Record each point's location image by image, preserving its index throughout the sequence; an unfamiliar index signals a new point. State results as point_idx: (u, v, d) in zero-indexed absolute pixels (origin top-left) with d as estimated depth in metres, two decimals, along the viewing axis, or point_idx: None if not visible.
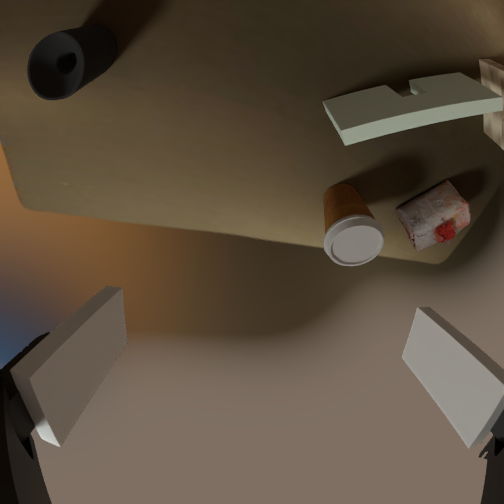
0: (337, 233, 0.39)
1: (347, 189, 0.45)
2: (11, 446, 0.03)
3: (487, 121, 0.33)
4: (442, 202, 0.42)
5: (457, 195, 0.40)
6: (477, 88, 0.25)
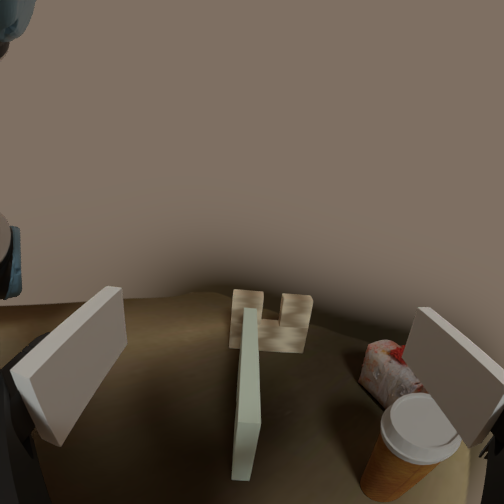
0: (406, 440, 0.18)
1: (365, 470, 0.24)
2: (11, 446, 0.03)
3: (289, 347, 0.52)
4: (376, 371, 0.39)
5: (365, 359, 0.42)
6: None
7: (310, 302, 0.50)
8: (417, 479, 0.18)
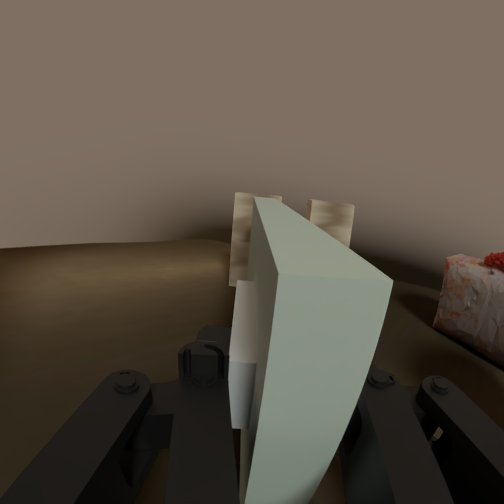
0: None
1: None
2: None
3: None
4: (469, 295, 0.21)
5: (445, 283, 0.24)
6: None
7: (350, 207, 0.33)
8: None
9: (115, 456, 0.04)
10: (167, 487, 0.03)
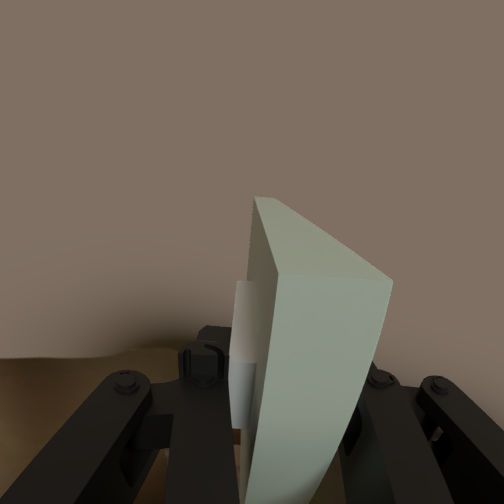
0: None
1: None
2: None
3: None
4: None
5: None
6: None
7: None
8: None
9: (116, 457, 0.04)
10: (167, 487, 0.03)
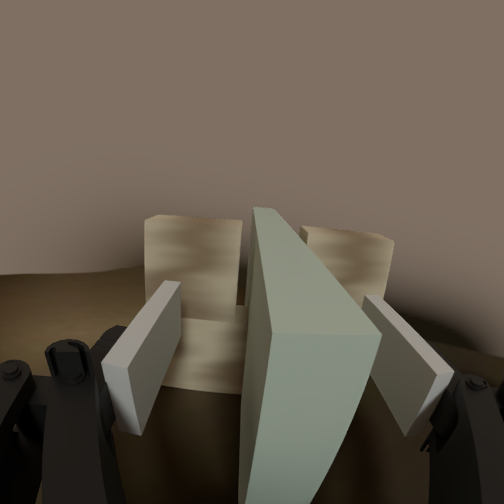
0: None
1: None
2: (100, 446, 0.04)
3: None
4: None
5: None
6: None
7: (387, 246, 0.15)
8: None
9: (7, 436, 0.03)
10: (43, 482, 0.03)
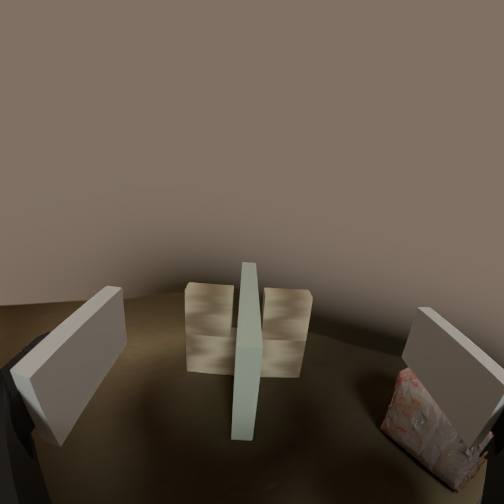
0: None
1: None
2: (11, 446, 0.03)
3: (278, 369, 0.34)
4: (417, 417, 0.19)
5: (394, 397, 0.22)
6: None
7: (308, 300, 0.32)
8: None
9: None
10: None
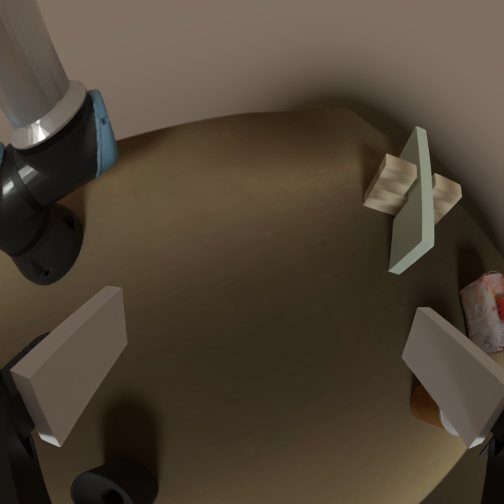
0: None
1: (419, 390, 0.33)
2: (11, 446, 0.03)
3: None
4: (478, 306, 0.35)
5: (474, 285, 0.36)
6: (409, 146, 0.45)
7: (458, 196, 0.36)
8: None
9: None
10: None
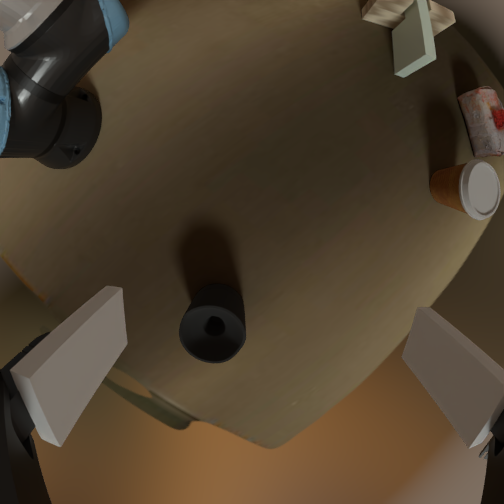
0: (469, 201, 0.33)
1: (437, 177, 0.41)
2: (11, 446, 0.03)
3: None
4: (476, 112, 0.36)
5: (471, 95, 0.35)
6: None
7: (452, 21, 0.27)
8: None
9: None
10: None
